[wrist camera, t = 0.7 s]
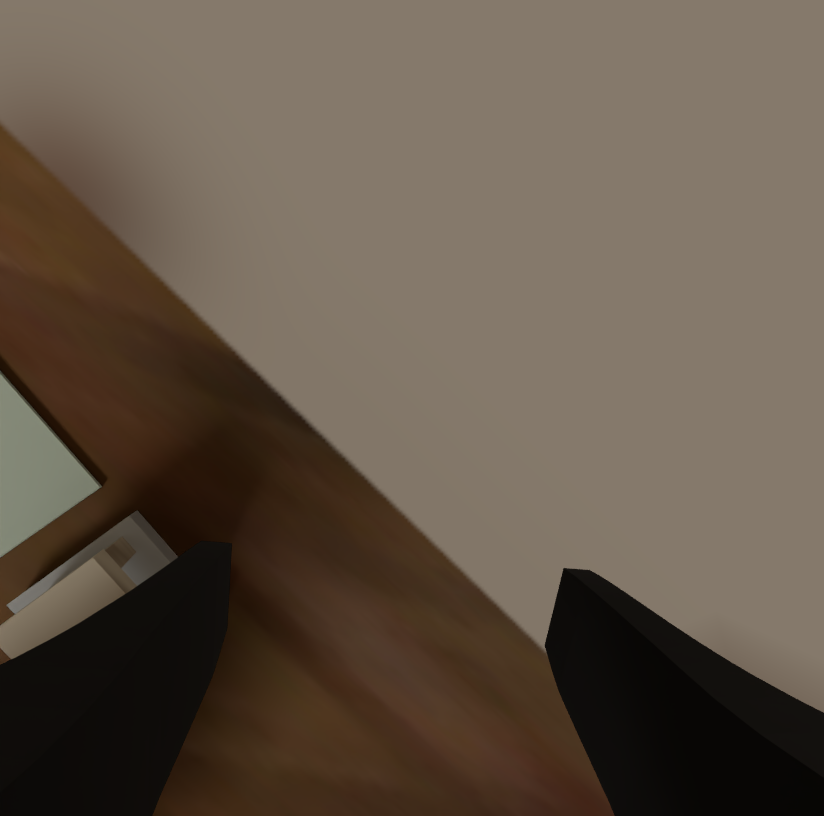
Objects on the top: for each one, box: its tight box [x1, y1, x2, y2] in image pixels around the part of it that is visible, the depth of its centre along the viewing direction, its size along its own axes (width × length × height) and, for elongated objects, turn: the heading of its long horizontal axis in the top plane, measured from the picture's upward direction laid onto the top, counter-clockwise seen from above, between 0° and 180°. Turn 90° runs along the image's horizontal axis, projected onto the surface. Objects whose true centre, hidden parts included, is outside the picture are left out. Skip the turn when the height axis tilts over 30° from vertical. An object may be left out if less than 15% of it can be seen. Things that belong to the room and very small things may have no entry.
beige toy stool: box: [0, 536, 137, 659], centre depth 21 cm, size 6×4×5 cm, turn 38°
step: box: [7, 510, 178, 614], centre depth 24 cm, size 6×7×2 cm
